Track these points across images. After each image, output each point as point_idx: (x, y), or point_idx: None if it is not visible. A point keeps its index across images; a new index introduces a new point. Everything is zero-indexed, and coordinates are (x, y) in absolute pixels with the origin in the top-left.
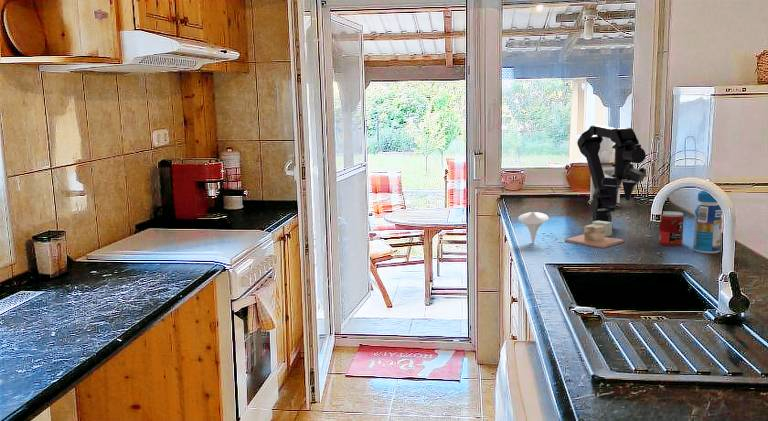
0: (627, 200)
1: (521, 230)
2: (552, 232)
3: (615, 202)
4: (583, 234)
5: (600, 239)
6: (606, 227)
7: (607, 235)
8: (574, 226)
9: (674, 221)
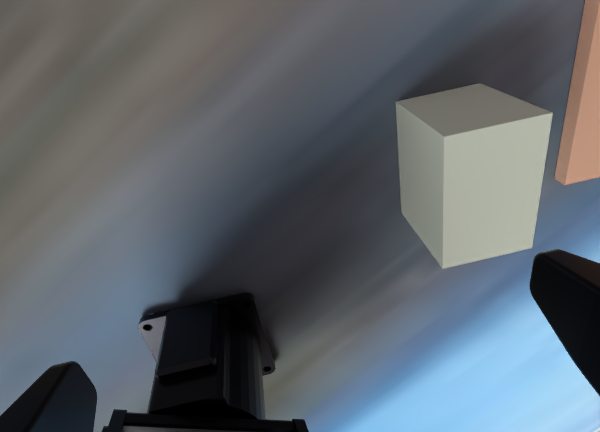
0: (85, 376)
1: (590, 413)
2: None
3: (569, 258)
4: (588, 178)
5: None
6: (523, 102)
7: (460, 89)
8: (340, 395)
9: None
